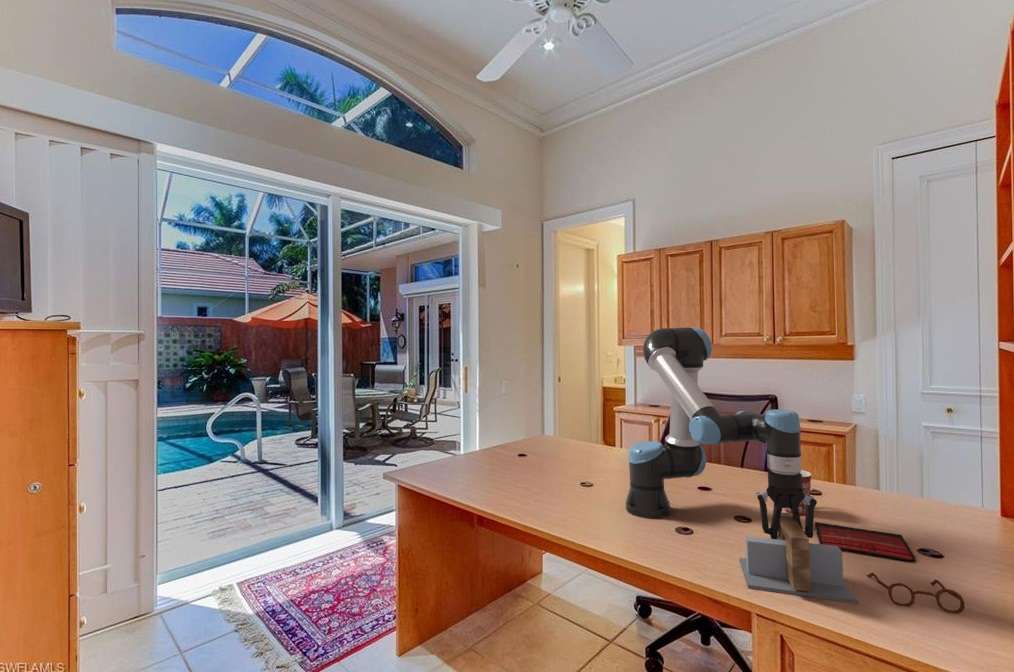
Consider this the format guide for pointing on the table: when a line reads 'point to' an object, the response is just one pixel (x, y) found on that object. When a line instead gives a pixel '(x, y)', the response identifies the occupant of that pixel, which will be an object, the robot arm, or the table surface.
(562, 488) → the table surface
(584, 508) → the table surface
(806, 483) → the mug
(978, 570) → the table surface
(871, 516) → the table surface
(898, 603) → the glasses
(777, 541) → the stand board
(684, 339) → the robot arm
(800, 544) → the brown rectangular block
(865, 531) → the black and red tablet
